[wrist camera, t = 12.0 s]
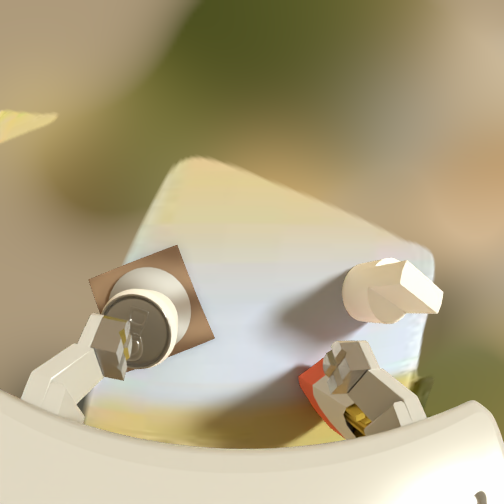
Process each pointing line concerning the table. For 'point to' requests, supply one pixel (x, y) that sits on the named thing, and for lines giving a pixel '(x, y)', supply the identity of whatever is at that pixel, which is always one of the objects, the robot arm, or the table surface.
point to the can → (146, 324)
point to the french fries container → (333, 404)
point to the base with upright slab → (388, 291)
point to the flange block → (166, 282)
